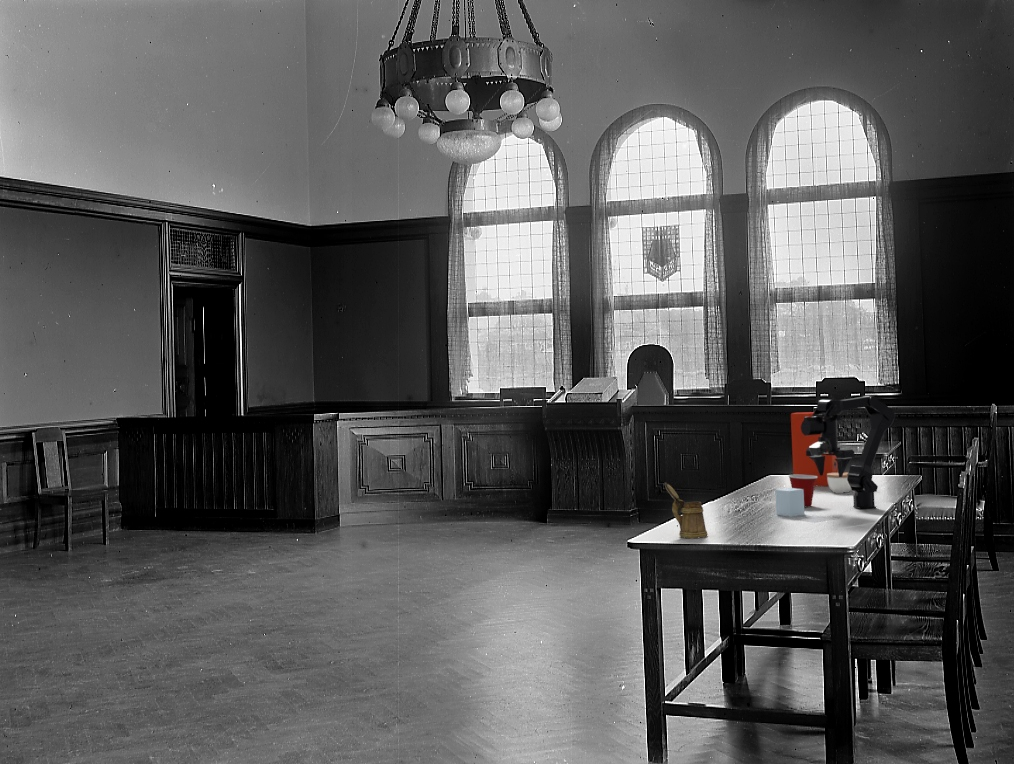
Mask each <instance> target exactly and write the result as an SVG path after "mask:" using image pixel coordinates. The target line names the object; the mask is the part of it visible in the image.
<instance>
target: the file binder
mask: <svg viewBox="0 0 1014 764" xmlns="http://www.w3.org/2000/svg"><path fill="white" fill-rule="evenodd" d="M813 413H814V411H813V412H811V411H810V412H792V413H790V423H791V425H790V427H791V451H792V470H793V471H792V475H794V474H799V475H812V476H817V479H816V481H815V485H814V487H829V485H828V480H827V474H828V473H835V472H838V463H837V461H836V460H835V459H837V457H836V456H835V455H821V456H825V464H824V472H823V475H822V476H820V474H819V471H818V469H817V466H816V464H815V462H814V461H813V460H812V459H811V458H809V457H810V456H806V450H807V449H808V448H809V446H811V445H813V444H814V443H816V442H818V438H819V437H821V434H819V435H808V436H805V435H804V434H803V433H802V431H801V424H802V422H803V421H804V417H811V416H812V415H813ZM826 452H828V451H826Z"/></svg>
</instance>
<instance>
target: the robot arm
mask: <svg viewBox="0 0 1014 764" xmlns="http://www.w3.org/2000/svg"><path fill="white" fill-rule="evenodd" d="M861 408H864V409H865V411H866V413H867V414H868V415H869V416H870V419H869V422H870V423H869V424H870V430H869V433H868V435H867V438H866V441H865V443H864V446H863V449H862V451H861V454H860V457H859V458H858V459H859V460H858V462H857V463H856V464H855V465H854V464H852V465H850V467H849V470H848V474H847V475H848V478H847V481H848V483H849V485H850V487H851V490H850V491H852V492H854V495H852V496H853V508H855V507H856V509H858V508H860V509H859V510H862V509H861V508H868V509H877V508H876V507H877V506H876V505H875V504H876V503H875V492H878V487H879V486H878V485H877V483H875V482H874V481H873V476H874V475H873V469H872V467H873V464H874V462H875V458H876V456H877V453H878V450H879V448H880V445H881V442H882V439H883V436H884V433H885V432H886V431H887V430H888V429H889V428H890V427H891V426H892V424H893V422H894V420H895V419H896V413H895V411H894V409H893V408H891V407H889V406H888V405H887V404H885V403H884V402H882V401H880V400H878V398H877V397H876V396H874V395H863V396H861V397H860V396H859V397H854V398H853V397H852V398H847V399H846V398H845V399H820V400H818V403H817V404H816V408H815V409H814V411H813V412H814V413H813V415H812V416H811V417H804V421H803V422H802V424H801V431H802V433H803V434H804V435H805V436H808V435H819V434H821V437H819V438H818V442H816V443H814V444H813V445H811V446H809V448H808V449H807V450H806V456H810V457H809V458H811V459H812V460H813V461H814V462H815V464H816V466H817V469H818V471H819V474H820V476H822V475H823V472H824V464H825V456H821V455H835V456H836V457H837V459H835V460H836V461H837V469H838V473H839V477H842V475H843V473H844V472H845V470H846V469H847V467H848V464H849V462H850V461H851V460H852V459H853V458H855V457H856V454H855V451H854V449H852V448H849V449H848V448H842V449H841V447H840V446H838V440H840V439H841V438H840V436H839V435H838V425H837V422H839V421H842V418H841V417H840V416H839V414H841V413H842V412H844V411H848V410H854V409H855V410H856V409H861ZM826 451H828V452H826Z"/></svg>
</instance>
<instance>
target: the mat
mask: <svg viewBox="0 0 1014 764" xmlns="http://www.w3.org/2000/svg"><path fill="white" fill-rule="evenodd" d="M839 519H840V517H833V516H832V517H831V516H824V515H815V514H814V515H807V516H806V515H805V516H801V517H800V516H799V517H793V518H792V517H791V520H793V521H800V522H801V521H802V522H807V523H808V522H809V523H820V522H826V521H832V520H839Z"/></svg>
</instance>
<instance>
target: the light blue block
mask: <svg viewBox="0 0 1014 764" xmlns="http://www.w3.org/2000/svg"><path fill="white" fill-rule="evenodd" d="M774 492H775V514H776V516H784V517H791V518H792V517H796V516H804V515H805V507H804V491H803V489H796V488H792V487H786V488H785V487H784V488H778V489H775V490H774Z"/></svg>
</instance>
